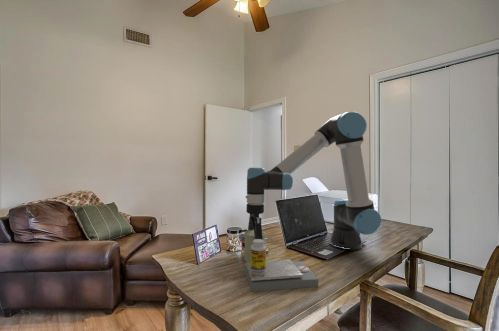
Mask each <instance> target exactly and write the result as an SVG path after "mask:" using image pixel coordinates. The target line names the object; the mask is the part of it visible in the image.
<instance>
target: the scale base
mask: <svg viewBox="0 0 499 331" xmlns="http://www.w3.org/2000/svg"><path fill="white" fill-rule="evenodd" d="M292 262H293V264H294V265H295V266H296V267H297V268H298V270H299V271H300V272H301V273H302V274H303V277H297V278H284V279H270V280H256V281H251V278H250V276H249V273H248V270H247V268H246V265H245V264H244V274H245V276H246V279H247V281H248V284H249V288H250V291H251V292H264V291H265V292H266V291H275V290H291V289H299V288H300V289H301V288H314V287H319V278H318V277H317V276H316V275H315V274H314V273H313V271H311V270H310V268H309V267H308V266H307V265H306V264H305V263H304V262H303V261H292Z"/></svg>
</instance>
